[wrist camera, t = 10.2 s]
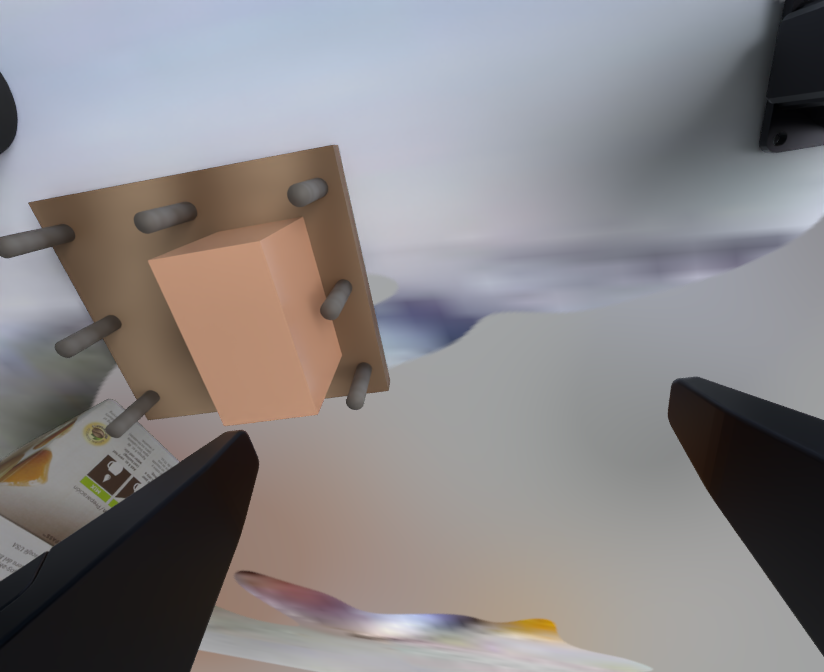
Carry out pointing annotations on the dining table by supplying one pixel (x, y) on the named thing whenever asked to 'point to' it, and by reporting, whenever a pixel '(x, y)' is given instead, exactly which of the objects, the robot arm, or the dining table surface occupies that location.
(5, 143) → the drinking cup
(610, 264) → the dining table surface
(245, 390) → the peach rectangular block
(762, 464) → the robot arm
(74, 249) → the brown peg board
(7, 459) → the coffee box
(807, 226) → the dining table surface
